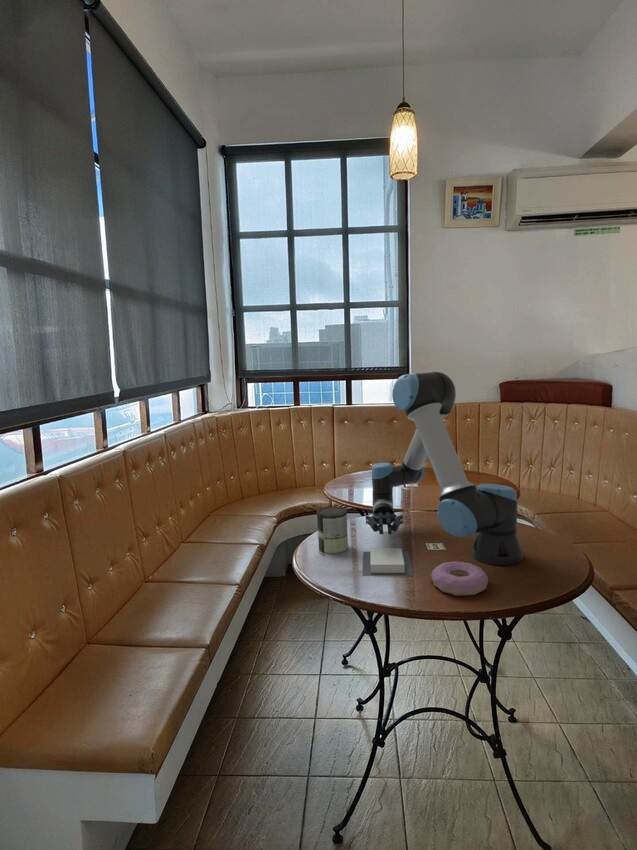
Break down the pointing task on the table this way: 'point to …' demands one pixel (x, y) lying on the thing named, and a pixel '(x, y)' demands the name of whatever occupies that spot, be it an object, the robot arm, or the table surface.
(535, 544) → the table surface
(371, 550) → the tile
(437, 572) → the donut
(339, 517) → the coffee can
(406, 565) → the mat
